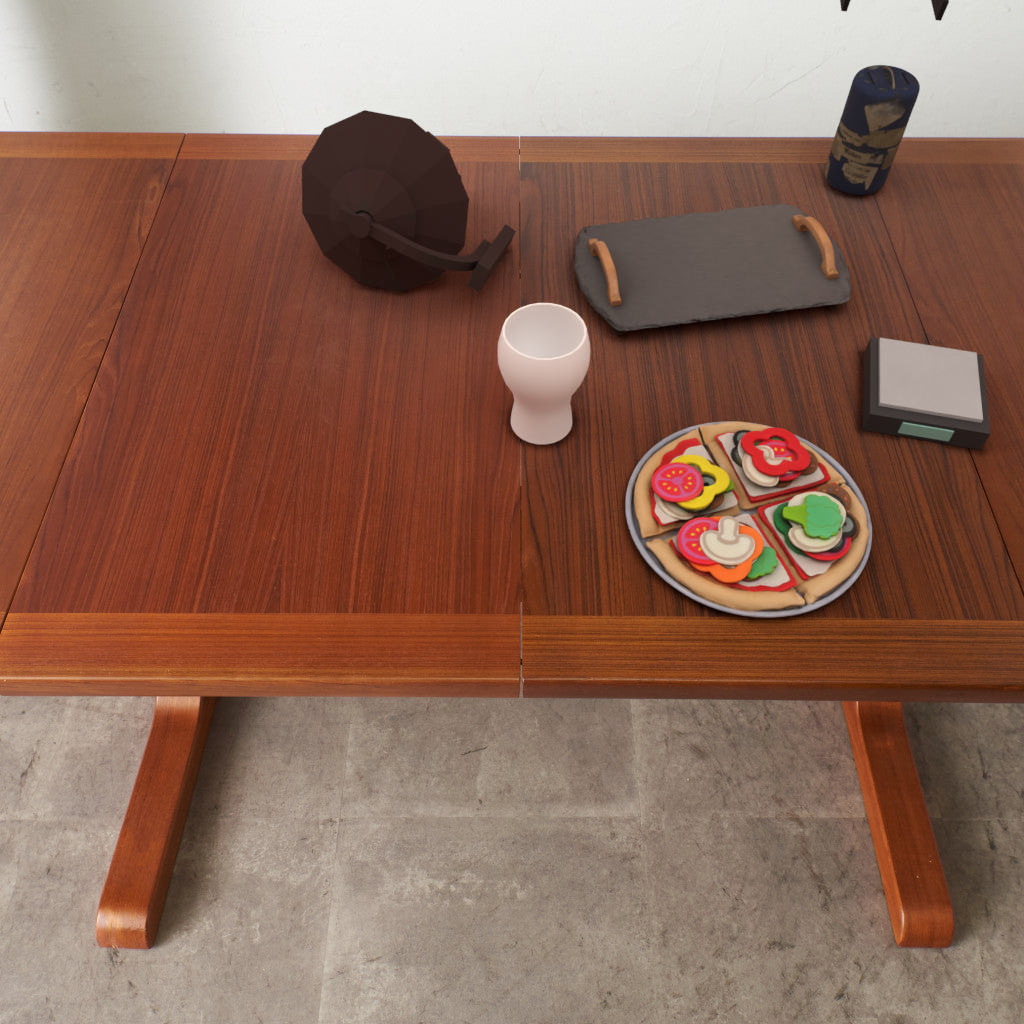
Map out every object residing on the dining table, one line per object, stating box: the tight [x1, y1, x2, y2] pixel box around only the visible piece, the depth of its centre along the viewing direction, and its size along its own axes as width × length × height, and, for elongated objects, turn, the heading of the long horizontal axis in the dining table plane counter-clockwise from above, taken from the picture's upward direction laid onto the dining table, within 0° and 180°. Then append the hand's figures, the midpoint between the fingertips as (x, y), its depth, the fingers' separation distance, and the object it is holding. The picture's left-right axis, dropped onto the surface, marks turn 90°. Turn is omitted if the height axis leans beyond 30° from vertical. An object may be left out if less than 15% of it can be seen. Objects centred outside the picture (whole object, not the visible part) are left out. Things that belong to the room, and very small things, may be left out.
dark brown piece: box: [301, 109, 517, 294], centre depth 126 cm, size 24×29×30 cm
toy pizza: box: [624, 420, 873, 619], centre depth 101 cm, size 28×28×4 cm
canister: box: [824, 64, 921, 196], centre depth 136 cm, size 10×10×18 cm
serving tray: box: [572, 203, 852, 338], centre depth 127 cm, size 39×23×6 cm, turn 100°
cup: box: [497, 302, 591, 445], centre depth 106 cm, size 11×11×15 cm
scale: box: [862, 337, 991, 451], centre depth 113 cm, size 14×14×4 cm
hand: (894, 6), depth 130 cm, fingers open, 13 cm apart
